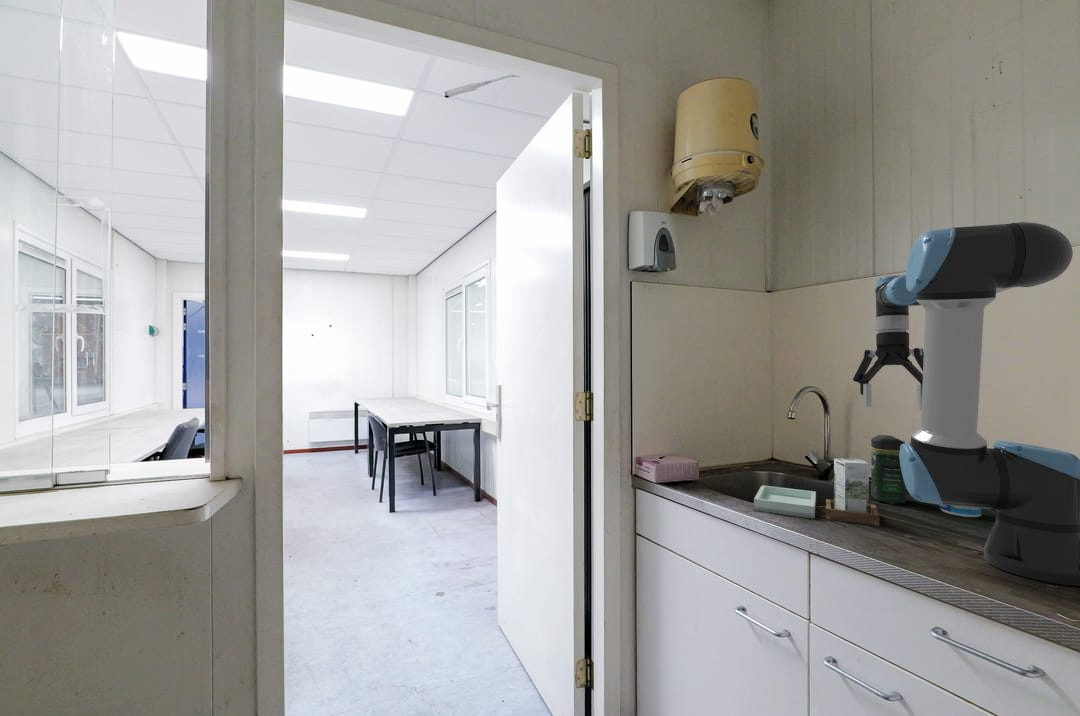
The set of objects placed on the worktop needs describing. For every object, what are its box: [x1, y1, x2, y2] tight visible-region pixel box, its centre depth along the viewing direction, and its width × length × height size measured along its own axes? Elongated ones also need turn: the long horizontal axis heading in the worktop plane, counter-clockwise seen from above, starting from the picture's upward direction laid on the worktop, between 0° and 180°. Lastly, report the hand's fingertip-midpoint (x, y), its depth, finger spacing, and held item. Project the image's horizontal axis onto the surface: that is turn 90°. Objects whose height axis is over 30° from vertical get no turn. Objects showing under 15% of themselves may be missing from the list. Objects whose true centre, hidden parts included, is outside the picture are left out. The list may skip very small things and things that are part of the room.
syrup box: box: [833, 457, 870, 513], centre depth 125 cm, size 6×6×14 cm
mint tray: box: [753, 484, 817, 520], centre depth 134 cm, size 18×14×3 cm
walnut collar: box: [825, 498, 880, 527], centre depth 125 cm, size 11×11×2 cm
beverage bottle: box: [940, 505, 982, 518], centre depth 129 cm, size 8×8×20 cm
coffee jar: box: [870, 434, 907, 504], centre depth 142 cm, size 10×8×19 cm
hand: (893, 408), depth 137 cm, fingers open, 13 cm apart
